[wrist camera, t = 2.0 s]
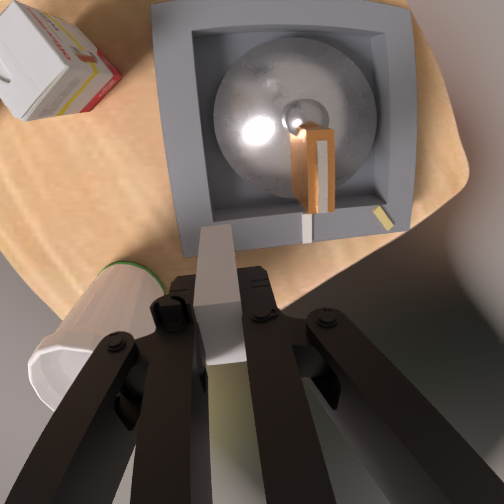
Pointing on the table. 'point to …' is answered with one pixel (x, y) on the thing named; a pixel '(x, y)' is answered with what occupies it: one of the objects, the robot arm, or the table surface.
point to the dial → (295, 120)
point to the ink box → (49, 66)
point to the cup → (94, 326)
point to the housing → (203, 132)
